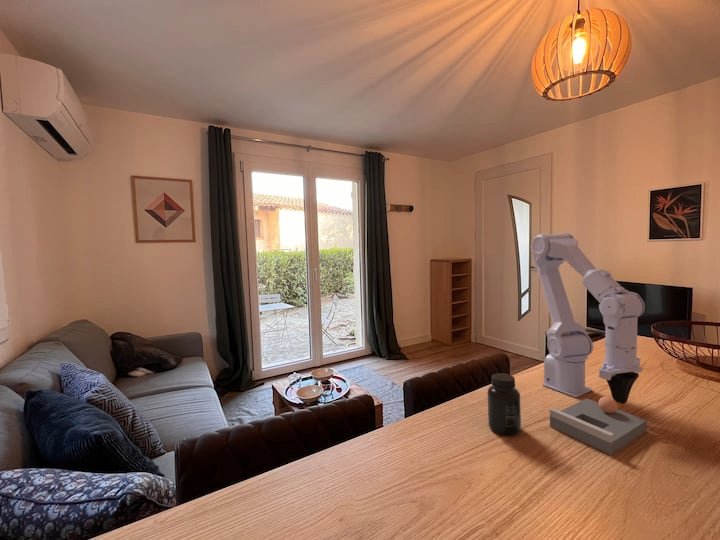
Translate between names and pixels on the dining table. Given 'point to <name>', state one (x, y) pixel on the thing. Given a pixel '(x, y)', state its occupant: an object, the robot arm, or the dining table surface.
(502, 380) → the supplement bottle
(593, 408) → the hole deck
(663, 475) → the dining table surface
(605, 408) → the ball
